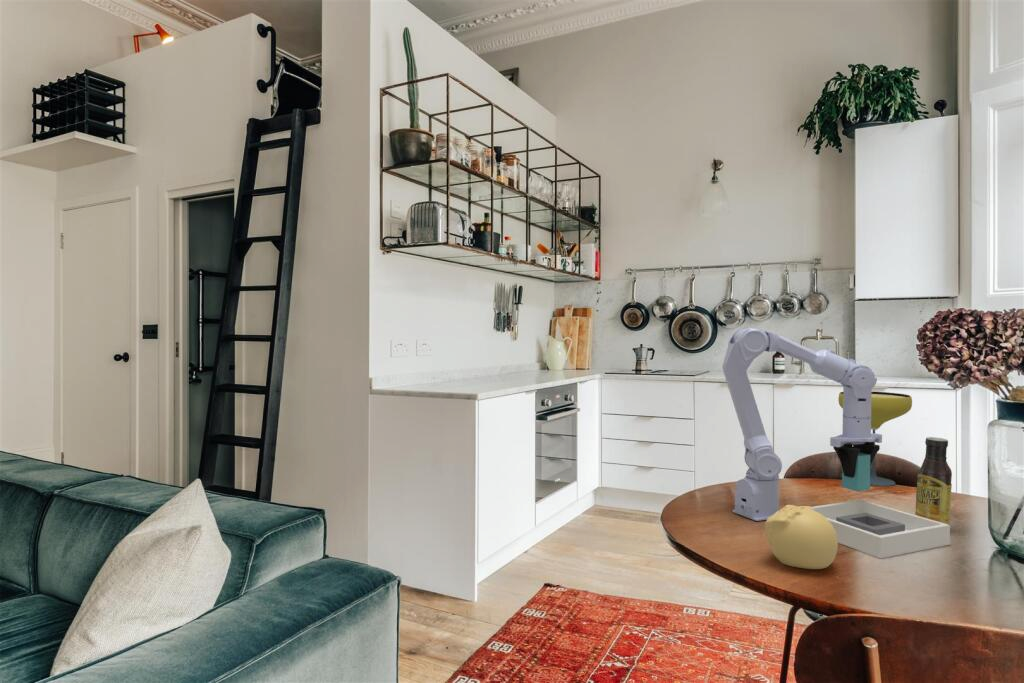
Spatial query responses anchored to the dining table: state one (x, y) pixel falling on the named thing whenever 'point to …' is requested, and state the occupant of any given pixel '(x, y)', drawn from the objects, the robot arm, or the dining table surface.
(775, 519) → the sculpture
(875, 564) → the dining table surface
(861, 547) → the box
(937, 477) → the sauce bottle
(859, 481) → the block
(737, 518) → the dining table surface
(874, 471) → the cocktail glass
